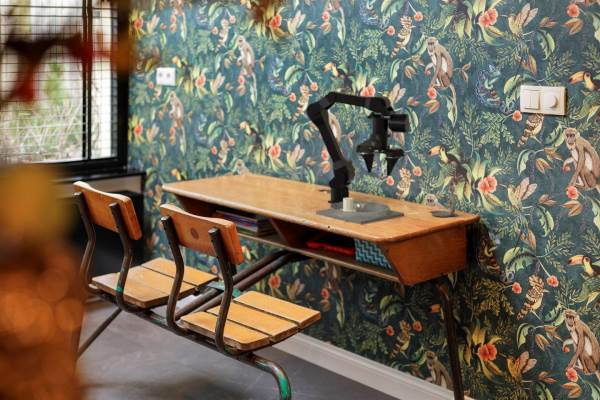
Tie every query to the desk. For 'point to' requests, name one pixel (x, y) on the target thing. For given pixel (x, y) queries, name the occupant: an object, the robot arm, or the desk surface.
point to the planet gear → (348, 205)
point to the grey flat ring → (350, 214)
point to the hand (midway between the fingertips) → (378, 174)
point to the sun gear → (360, 207)
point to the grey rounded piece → (451, 207)
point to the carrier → (361, 220)
